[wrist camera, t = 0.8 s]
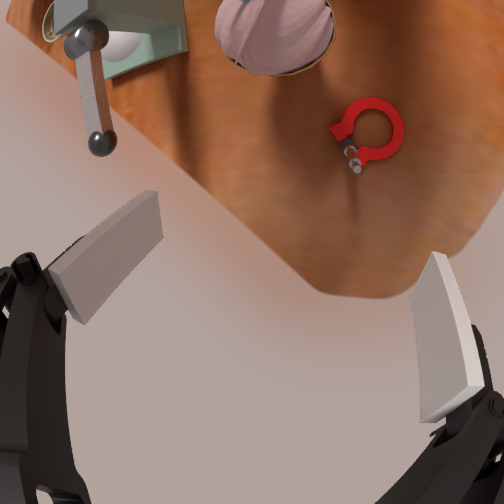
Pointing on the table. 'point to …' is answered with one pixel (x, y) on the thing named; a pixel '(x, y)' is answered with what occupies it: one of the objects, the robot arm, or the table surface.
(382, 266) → the table surface
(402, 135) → the tow hook
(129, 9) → the press
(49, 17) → the flower pot
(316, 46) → the ice cream cone
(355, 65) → the table surface
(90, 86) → the lever
